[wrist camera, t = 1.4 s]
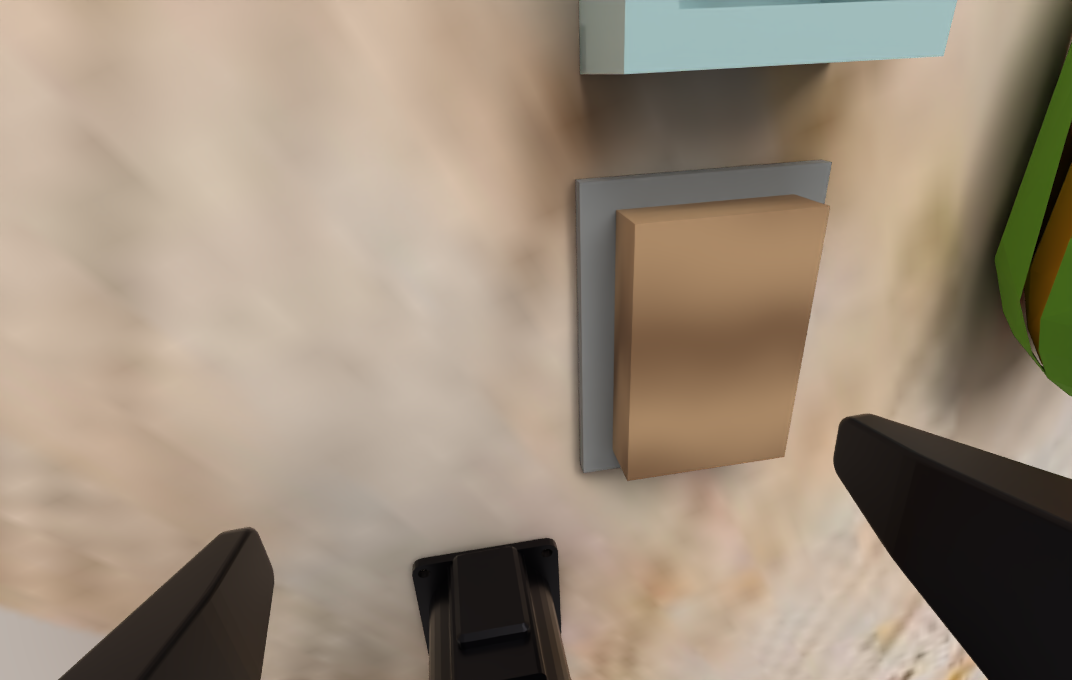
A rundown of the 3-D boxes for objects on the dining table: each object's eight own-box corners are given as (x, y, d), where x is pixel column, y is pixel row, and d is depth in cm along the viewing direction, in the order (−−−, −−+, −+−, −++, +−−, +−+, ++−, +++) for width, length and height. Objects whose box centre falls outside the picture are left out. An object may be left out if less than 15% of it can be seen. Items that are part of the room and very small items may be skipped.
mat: (774, 435, 25) (781, 443, 25) (580, 464, 24) (583, 473, 23) (821, 159, 20) (831, 162, 19) (575, 179, 19) (579, 182, 18)
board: (758, 428, 24) (784, 456, 22) (612, 449, 23) (627, 480, 21) (794, 194, 20) (830, 206, 18) (616, 209, 19) (634, 224, 17)
